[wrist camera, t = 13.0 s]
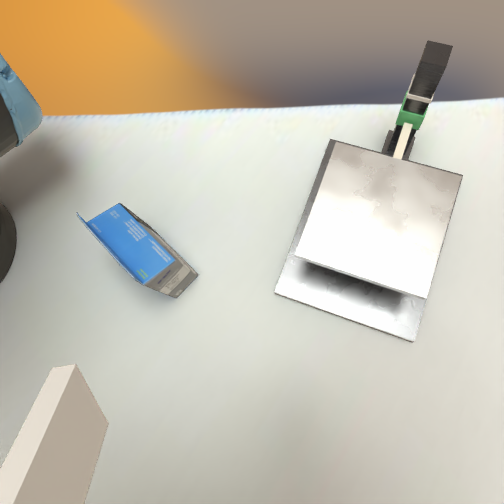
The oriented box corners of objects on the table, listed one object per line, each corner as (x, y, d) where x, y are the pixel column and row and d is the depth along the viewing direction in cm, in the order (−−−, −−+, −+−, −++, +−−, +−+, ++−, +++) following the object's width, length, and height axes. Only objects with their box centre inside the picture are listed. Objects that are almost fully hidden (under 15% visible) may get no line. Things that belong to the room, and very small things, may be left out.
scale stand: (274, 293, 48) (260, 259, 32) (337, 121, 52) (351, 18, 37) (412, 342, 45) (467, 329, 29) (466, 155, 49) (540, 59, 34)
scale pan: (296, 269, 47) (295, 254, 40) (343, 140, 50) (348, 106, 43) (408, 307, 44) (426, 298, 38) (450, 169, 47) (473, 138, 41)
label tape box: (200, 275, 49) (166, 247, 37) (174, 301, 49) (132, 281, 37) (150, 225, 52) (104, 183, 40) (125, 249, 51) (71, 214, 39)
